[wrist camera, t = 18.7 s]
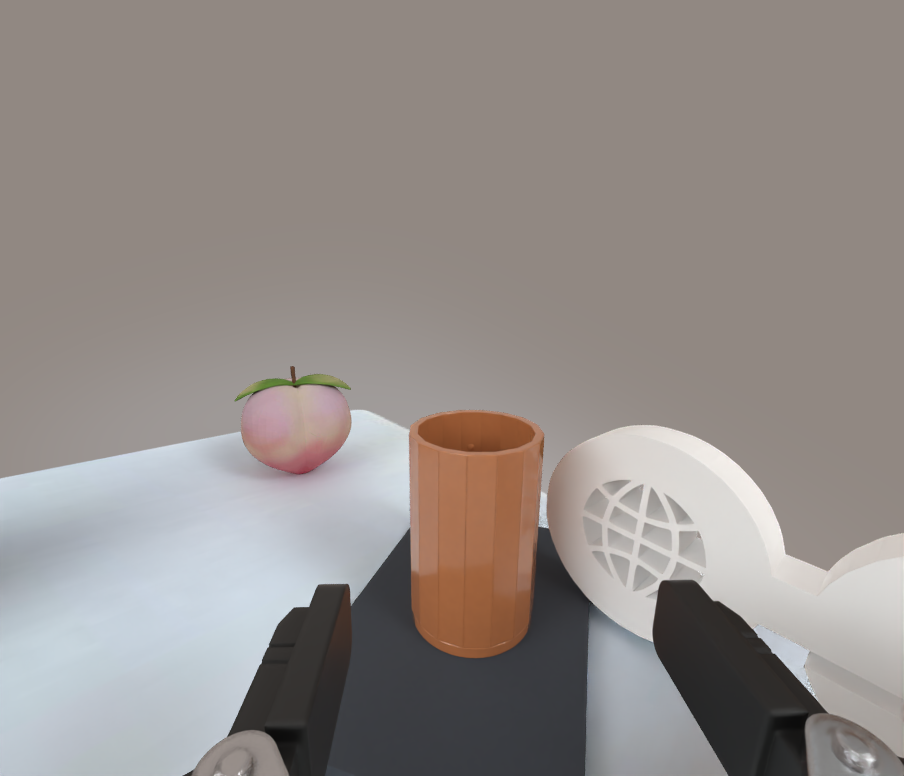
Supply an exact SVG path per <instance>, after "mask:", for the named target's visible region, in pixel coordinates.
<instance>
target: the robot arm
mask: <svg viewBox="0 0 904 776" xmlns="http://www.w3.org/2000/svg"><path fill="white" fill-rule="evenodd" d="M652 636H653V642H654V646H655V650H656V652H657V655H658V657H659V659H660V660H661V662H662V664H663V665H664V667H665V669H666V670H667V672H668V674H669V675H670V677H671V679H672V681H673V682H674V684H675V686H676V687H677V689H678V691H679V692H680V694H681V696H682V697H683V699H684V701H685V703H686V704H687V706H688V708H689V709H690V711H691V713H692V714H693V716H694V718H695V719H696V721H697V723H698V725H699V726H700V728H701V730H702V731H703V733H704V735H705V736H706V738H707V740H708V741H709V743H710V745H711V747H712V748H713V750H714V752H715V753H716V755H717V757H718V758H719V760H720V762H721V763H722V765H723V767H724V769H725V770H726V772H727V774H728V775H729V776H904V758H902V757H898V756H896V754H895V753H894V752H893V751H892V750H891V749H890V748H889V747H888V746H887V745H886V744H885V743H884V742H883V741H882V740H880V739H879V738H878V737H876V736H875V735H874V734H872V733H871V732H869V731H868V730H867V729H865V728H863V727H862V726H860V725H858V724H856V723H854V722H852V721H850V720H848V719H845V718H843V717H840V716H836V715H833V714H829V713H828V712H827V711H826V710H825V709H824V708H823V707H822V706H821V704H820V703H819V702H818V701H817V700H816V699H815V698H814V697H813V696H812V695H811V693H810V692H809V691H808V690H807V689H806V688H805V687H804V686H803V685H802V683H801V682H800V681H799V680H798V679H797V678H796V677H795V676H794V675H793V673H792V672H791V671H790V670H789V669H788V668H787V667H786V666H785V665H784V664H783V662H782V661H781V660H780V659H779V658H778V657H777V656H776V655H775V654H772V652H771V649H770V648H769V647H768V646H767V645H766V644H765V643H764V641H763V640H762V639H761V638H758V636H757V634H756V633H755V631H754V630H753V629H752V628H751V627H750V626H749V625H748V624H747V623H746V621H745V620H744V619H743V618H742V617H741V616H740V615H738V614H737V613H735V612H734V611H732V610H731V609H730V608H728V607H727V606H725V605H724V604H722V603H721V602H720V601H713V600H712V599H711V598H710V597H709V595H708V594H707V593H706V592H705V591H704V590H703V589H702V587H701V586H700V585H699V584H698V583H697V582H696V581H694V580H663V581H661V583H660V585H659V589H658V595H657V602H656V608H655V615H654V621H653V628H652ZM351 649H352V622H351V603H350V588H349V585H348V584H320V585H318V586H317V588H316V590H315V593H314V596H313V598H312V601H311V604H310V606H309V607H296V608H293V609H292V610H291V611H290V612H289V613H288V614H287V615H286V617H285V618H284V619H283V620H282V621H281V622H280V623H279V624H278V626H277V628H276V630H275V632H274V634H273V637H272V639H271V641H270V643H269V648H267V650H266V652H265V655H264V657H263V659H262V664H260V666H259V668H258V670H257V672H256V675H255V677H254V679H253V681H252V684H251V686H250V688H249V690H248V693H247V695H246V697H245V699H244V702H243V704H242V706H241V708H240V710H239V713H238V715H237V717H236V719H235V722H234V724H233V726H232V728H231V730H230V732H229V734H228V736H227V738H225V739H223V740H222V741H220V742H219V743H217V744H216V745H215V746H214V747H212V748H211V749H210V750H209V751H208V752H207V753H206V754H205V755H204V756H203V758H202V759H201V760H200V762H199V763H198V764H197V766H196V768H195V769H194V770H193V771H191V772H189V773H187V774H185V775H183V776H325V774H326V769H327V765H328V760H329V755H330V751H331V746H332V742H333V737H334V733H335V728H336V723H337V719H338V714H339V710H340V705H341V700H342V696H343V691H344V687H345V682H346V677H347V673H348V668H349V663H350V658H351Z"/></svg>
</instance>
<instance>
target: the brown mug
mask: <svg viewBox="0 0 904 776" xmlns="http://www.w3.org/2000/svg"><path fill="white" fill-rule="evenodd" d="M543 447H544V433H543V432H542V430H541V429H540V427H539V426H538V425H537V424H535V423H533V422H531V421H529V420H527V419H525V418H523V417H519V416H515V415H511V414H507V413H501V412H493V411H485V410H457V411H449V412H441V413H436V414H433V415H430V416H426V417H423V418H421V419H419V420H418V421H417V422H415V423H413V424H412V425H411V427H410V432H409V466H410V535H411V605H412V615H413V620H414V623H415V626H416V628H417V629H418V631H419V633H420V634H421V635H422V637H423V638H424V639H425V640H426V641H427V642H428V643H430V644H431V645H432V646H434V647H435V648H437V649H439V650H441V651H443V652H445V653H448V654H450V655H454V656H458V657H464V658H486V657H492V656H496V655H499V654H502V653H504V652H506V651H508V650H510V649H511V648H513V647H514V646H516V645H517V644H518V643H519V642H520V641H521V640H522V639H523V638H524V636H525V635H526V633H527V631H528V629H529V626H530V623H531V614H532V609H533V598H534V583H535V568H536V553H537V538H538V523H539V508H540V493H541V478H542V463H543Z"/></svg>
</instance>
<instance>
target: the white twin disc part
mask: <svg viewBox="0 0 904 776" xmlns="http://www.w3.org/2000/svg"><path fill="white" fill-rule="evenodd" d="M630 480H632V481H630ZM642 484H644V487H643V490H641V489H640V487H641V485H642ZM605 497H606V498H605ZM547 520H548V525H549V530H550V533H551V537H552V540H553V543H554V545H555V548H556V550H557V553H558V555H559V557H560V559H561V561H562V563H563V565H564V566H565V568H566V570H567V571H568V573H569V574H570V576H571V577H572V579H573V581H574V582H575V583H576V584H577V586H578V587H579V588H580V589H581V591H582V592H583V593H584V594H585V596H586V597H587V598H588V599H589V600H590V601H591V602H592V603H593V604H594V605H595V606H596V607H598V608H599V609H600V610H601V611H602V612H603V613H604V614H606V615H607V616H608V617H609V618H611V619H612V620H613V621H615V622H616V623H618V624H619V625H620V626H622V627H624V628H625V629H627V630H629V631H631V632H632V633H634V634H636V635H637V636H639V637H642V638H644V639H647V640H649V641H651V642H653V636H652V628H653V621H654V615H655V608H656V602H657V595H658V589H659V585H660V583H661V581H663V580H694V581H696V582H697V583H698V584H699V585H700V586H701V587H702V589H703V590H704V591H705V592H706V593H707V594H708V595H709V597H710V598H711V599H712V600H713V601H720V602H721V603H722V604H724V605H725V606H727V607H728V608H730V609H731V610H732V611H734V612H735V613H737V614H738V615H740V616H741V617H742V618H743V619H744V620H745V621H746V623H747V624H748V625H749V626H750V627H751V628H752V629H754V628H755V627H756V626H757V625H758V624H759V625H761V626H763V627H765V628H767V629H769V630H771V631H773V632H775V633H777V634H779V635H781V636H782V637H784V638H786V639H788V640H790V641H792V642H794V643H796V644H798V645H800V646H802V647H804V648H806V649H807V650H809V654H808V657H807V659H806V662H805V664H804V668H805V671H806V674H807V676H808V679H809V682H810V685H811V687H812V689H813V691H814V694H815V696H816V698H817V700H818V701H819V703H820V704H821V706H822V707H823V708H824V709H825V710H826V711H827V712H828V713H829V714H833V715H836V716H840V717H843V718H845V719H848V720H850V721H852V722H854V723H856V724H858V725H860V726H862V727H863V728H865V729H867V730H868V731H869V732H871V733H872V734H874V735H875V736H876V737H878V738H879V739H880V740H882V741H883V742H884V743H885V744H886V745H887V746H888V747H889V748H890V749H891V750H892V751H893V752H894V753H895V754H896V756H898V757H902V758H904V533H902V534H896V535H891V536H886V537H883V538H880V539H878V540H876V541H873V542H871V543H868V544H866V545H864V546H861V547H859V548H856V549H855V550H853V551H852V552H850V553H849V554H848V555H846V556H844V557H843V558H841V559H840V560H839V561H838V562H837V563H836V564H835V565H834V566H833V567H832V568H831V569H830V570H829V571H826V570H823V569H821V568H818V567H816V566H813V565H811V564H809V563H806V562H804V561H801V560H799V559H796V558H794V557H791V556H789V555H786V554H785V549H784V542H783V536H782V533H781V530H780V527H779V524H778V521H777V519H776V516H775V514H774V512H773V509H772V508H771V506H770V504H769V503H768V501H767V499H766V498H765V496H764V494H763V493H762V491H761V490H760V489H759V488H758V486H757V485H756V484H755V483H754V481H753V480H752V479H751V478H750V477H749V476H748V475H747V474H746V473H745V472H744V470H742V468H741V467H740V466H739V465H737V464H736V463H735V462H734V461H733V460H731V459H730V458H729V457H728V456H727V455H725V454H724V453H722V452H721V451H720V450H718V449H716V448H715V447H713V446H712V445H710V444H709V443H707V442H705V441H703V440H701V439H699V438H697V437H694V436H692V435H689V434H687V433H684V432H680V431H677V430H674V429H670V428H666V427H662V426H653V425H635V426H626V427H622V428H617V429H614V430H612V431H609V432H607V433H604V434H602V435H599V436H597V437H594V438H592V439H589V440H587V441H585V442H583V443H581V444H579V445H578V446H576V447H575V448H573V449H572V450H570V451H569V452H568V453H567V454H566V455H565V456H564V457H563V458H562V459H561V461H560V462H559V464H558V465H557V467H556V468H555V470H554V472H553V474H552V476H551V480H550V483H549V489H548V495H547ZM697 531H699V533H700V535H701V538H702V539H699V538H697ZM699 572H700V573H702V574H704V575H703V576H701V574H700V573H699Z"/></svg>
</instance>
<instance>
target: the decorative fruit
mask: <svg viewBox="0 0 904 776" xmlns="http://www.w3.org/2000/svg"><path fill="white" fill-rule="evenodd" d="M291 376H292V378H288V379H266V380H262V381H259V382H256V383H254V384H252V385H250V386H249V387H247V388H246V389H245V390H244V391H242V392H241V393H240V394H239V395H238V396H237V398H236V399H235V401H237V400H239V399H241V398H243V397H245V396H247V395H249V394H251V393H253V394H252V396H250V398H249V399H248V401H247V402H246V404H245V406H244V409H243V412H242V419H241V434H242V439H243V442H244V444H245V446H246V448H247V449H248V451H249V452H250V453H251V454H252V455H253V456H254V457H255V458H256V459H258V460H259V461H260V462H262V463H264V464H266V465H268V466H270V467H272V468H275V469H278V470H282V471H286V472H290V473H295V474H303V473H306V472H309V471H311V470H313V469H315V468H316V467H318V466H319V465H321V464H322V463H324V462H325V461H327V460H328V459H329V458H331V457H332V456H333V455H334V454H335V453H336V452H337V451H338V450H339V449H340V448H341V446H342V445H343V444H344V442H345V441H346V439H347V437H348V435H349V432H350V429H351V414H350V410H349V407H348V404H347V401H346V400H345V398H344V396H343V395H342V393H341V392H340V391H339V390H338V389H337V388H336V387H334V386H337V387H341V388H345V389H351V388H350V387H349V386H348V385H347V384H346V383H344V382H343V381H341V380H340V379H337V378H335V377H333V376H329V375H323V374H314V375H308V376H304V377H301V378H296V377H295V367H293V366H292V367H291Z"/></svg>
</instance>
